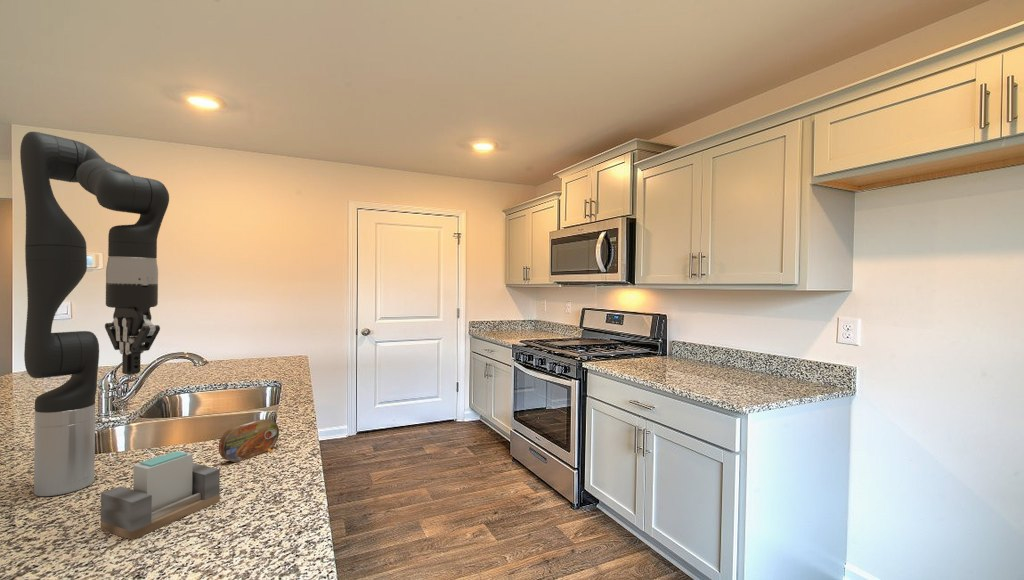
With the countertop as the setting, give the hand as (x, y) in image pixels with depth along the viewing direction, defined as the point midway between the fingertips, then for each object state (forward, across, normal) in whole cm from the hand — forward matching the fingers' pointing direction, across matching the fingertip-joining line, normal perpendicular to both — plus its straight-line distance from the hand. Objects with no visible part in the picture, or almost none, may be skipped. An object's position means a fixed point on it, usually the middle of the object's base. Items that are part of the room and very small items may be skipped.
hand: (131, 373), depth 85 cm
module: (+26, +5, +3) cm, 26 cm away
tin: (+27, -7, +31) cm, 42 cm away
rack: (+27, +5, +3) cm, 28 cm away
